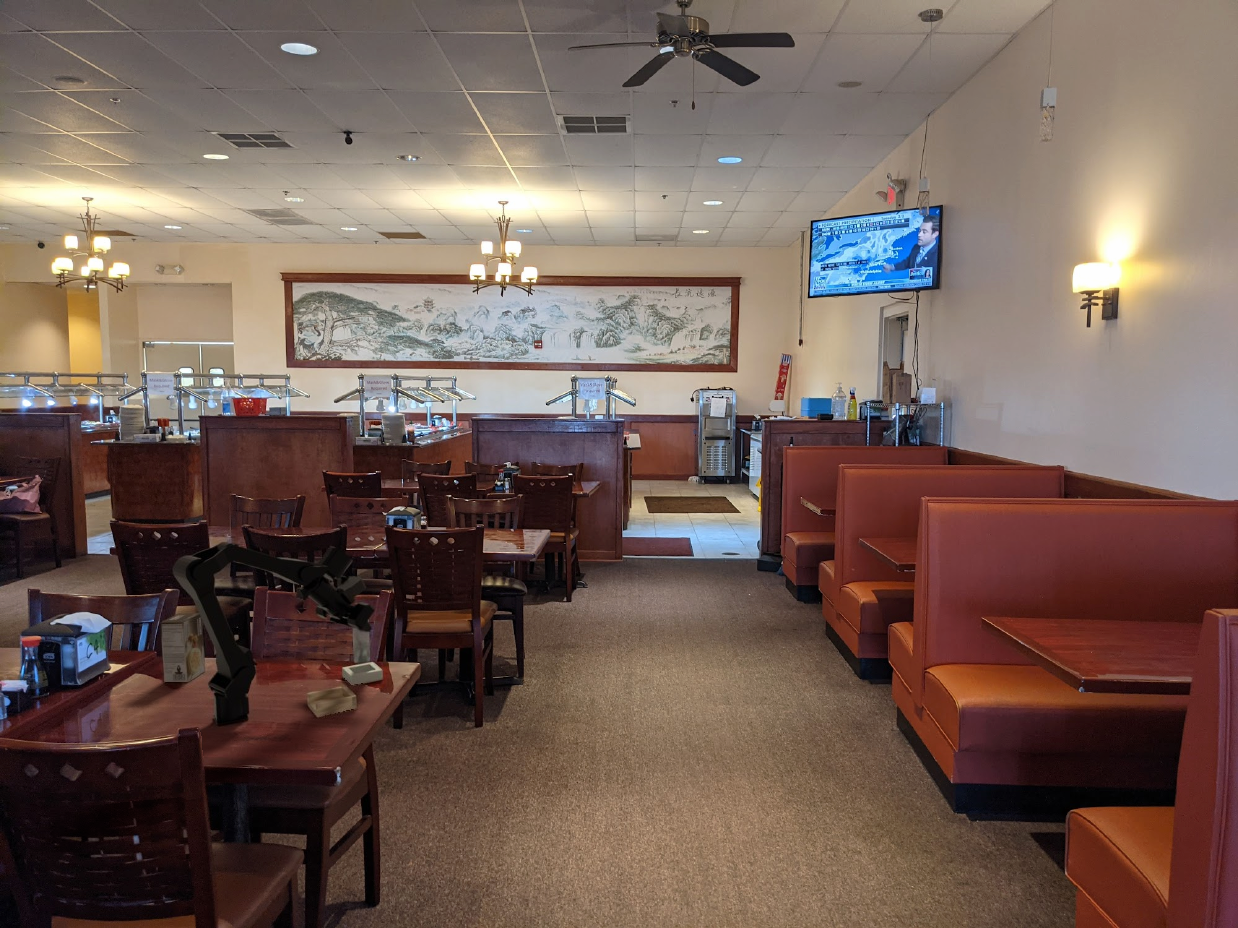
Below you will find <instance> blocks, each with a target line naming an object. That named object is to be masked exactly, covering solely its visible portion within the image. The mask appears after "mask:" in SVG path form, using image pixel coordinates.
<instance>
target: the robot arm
mask: <svg viewBox="0 0 1238 928" xmlns="http://www.w3.org/2000/svg"><path fill="white" fill-rule="evenodd" d="M326 549H327V550H326V551H325V553H324V554H323V556H322V557H321V558H320V559H319V561H318V562H312V561H311V562H310V561H307V560H306V561H305V560H301V559H298V558H291V557H278V556H273V555H270V554H267V553H263V552H260V551H257V550H254V549H250V548H247V547H243V546H241V545H238V544H237V543H234V542H229V541H222V542H220V543H218V544H215V545H214V546H212V547H208V548H206V549H203V550H200V551H198V552H196V553H193V554H192V555H184V556H180V558H178V559H177V560H176V561H175V562H174V565H173V567H172V575H173V576H174V578H175V579H176V581H177V582H178V583H179V585H180V586H181V587H182V588H183V590H184V591H186V592H187V594H188V595H189V596H190V597H191V599H192V600H193V602H194V604H195V606H196V609H197V611H198V613H199V614H200V616H201V618H202V624H203V626H204V627H205V630H206V631H207V634H208V636H209V638H210V640H211V643H212V645H213V647H214V649H215V652H216V656H215V665H216V670H217V671H216V672H215V674H214V675H213V676H212V677H211V678H210V679H209V681H208V682H207V686H208V688H209V690H210V692H212V694H213V706H214V707H213V708H214V709H213V710H214V714H213V715H212V716H213V720H214V722H215V724H216V726H223V725H228V724H233V723H238V722H243V721H247V720H249V716H248V715H250V701H249V699H250V698H249V695H248V694H249V692H250V688H251V686H252V682H253V680H254V679H255V676H256V675H257V667H256V666H258V663H257V662H256V661H255V660H254V657H253V652H252V650H251V649H249V648H246V647H244V646H242V645H239V644H238V642H237V640H236V638H235V635H234V633H233V631H232V629H231V627H230V623H228V620H227V618H226V615H225V612H224V611H223V608H222V606H221V604H220V602H219V598H218V597H217V595H216V592H215V586H216V578H215V575H216V574H218V573H219V572H221V571H222V570H223V569H225V568H226V567H227V566H228V565H229V564H230V563H232V562H234V563H238V564H242V565H246V566H249V567H252V568H256V569H259V570H262V571H263V570H264V571H265V572H266V571H267V572H269V573H271V574H273V575H275V576H276V577H278V578H279V579H282V580H284V581H285V582H288V583H291V584H294V585H299V586H301V587H297V588H296V589H295V590H296V594H295V598H296V599H298V600H301V601H306V600H307V599H308V598H309V599H311V600H312V601H313V602H315V603H316V604H315V606H316V608H315V614H316V615H317V616H318V617H319V618H320V619H323V620H327V619H328V617H330V618H329V621H330V622H333V623H336V624H339V625H343V626H347V627H348V628H349V627H350V628H352V629H353V628H356V629H360V630H364V631H368V632H369V633H370V632H371V631H372V629H373V628H372V626H371V624H370V621H369V622H368V619H369V620H370V618H371V616H372V615H373V614H374V612H375V610H376V609H375V607H374V606H373V605H372V604H370V603H367V602H364V601H363V602H357V603H358V604H356V603H355V601H356V599H355V597H357V596H358V595H359V594H361V593H362V592H364V591H365V590H366V589H367V586H366V585H365V583H364V580H363V579H362V577H359V576H355V575H353V576H348V577H347V576H345V575H343V574H344V573H346V570H348V568H349V566H350V565H351V564H352V563H353V558H352V557H350V555H349V554H347V553H345V552H343V551H342V550H339V549H338V548H336V547H335V546H331V545H329V547H328V548H326ZM334 580H337V583H336V585H337V587H336V586H334V584H332V583H331V582H330V581H332V582H333V581H334ZM354 603H355V604H356V605H355V604H354ZM352 604H354V605H352Z"/></svg>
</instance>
